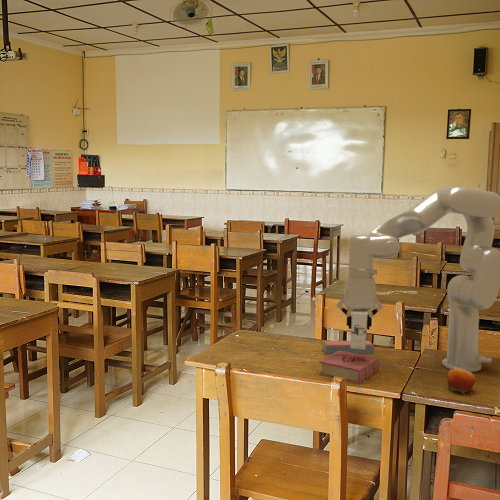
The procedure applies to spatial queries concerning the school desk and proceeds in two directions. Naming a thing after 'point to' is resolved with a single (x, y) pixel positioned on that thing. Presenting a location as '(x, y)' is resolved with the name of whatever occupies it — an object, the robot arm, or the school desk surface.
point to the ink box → (358, 328)
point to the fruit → (460, 380)
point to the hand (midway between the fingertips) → (358, 327)
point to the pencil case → (346, 347)
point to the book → (349, 366)
